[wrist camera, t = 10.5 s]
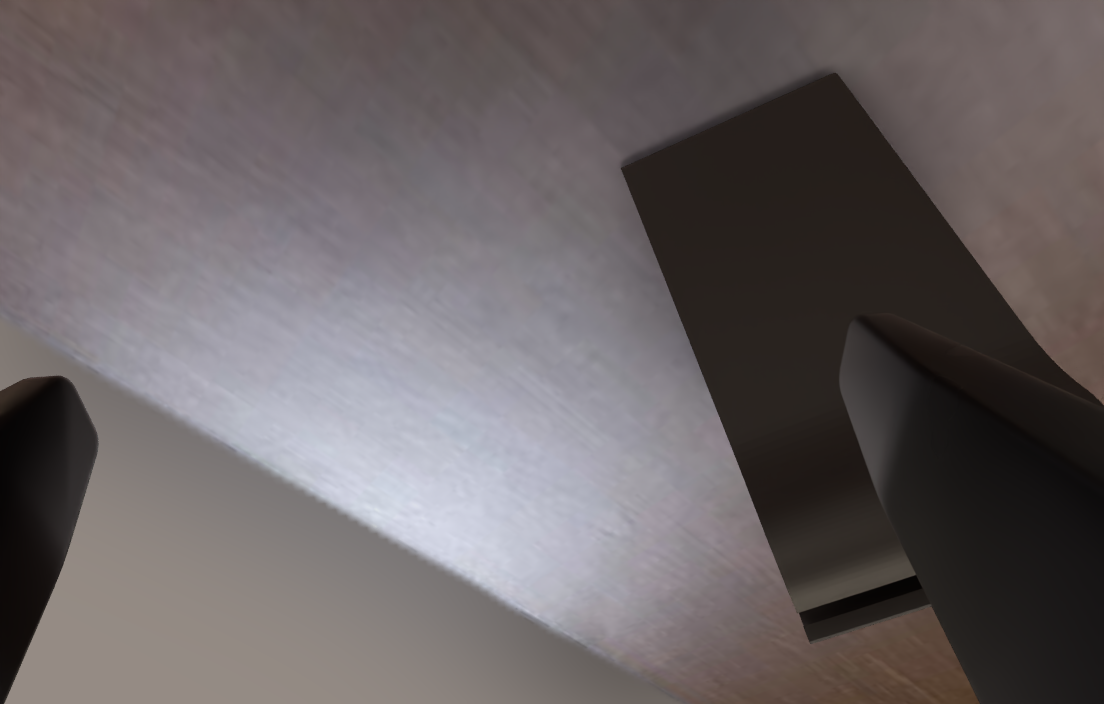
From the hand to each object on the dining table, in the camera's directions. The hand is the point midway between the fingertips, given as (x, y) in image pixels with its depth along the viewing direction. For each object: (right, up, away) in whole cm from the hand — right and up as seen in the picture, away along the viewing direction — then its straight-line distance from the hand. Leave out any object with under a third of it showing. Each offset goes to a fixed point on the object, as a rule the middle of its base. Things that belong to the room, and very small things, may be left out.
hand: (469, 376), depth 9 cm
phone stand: (+7, +3, +14) cm, 16 cm away
